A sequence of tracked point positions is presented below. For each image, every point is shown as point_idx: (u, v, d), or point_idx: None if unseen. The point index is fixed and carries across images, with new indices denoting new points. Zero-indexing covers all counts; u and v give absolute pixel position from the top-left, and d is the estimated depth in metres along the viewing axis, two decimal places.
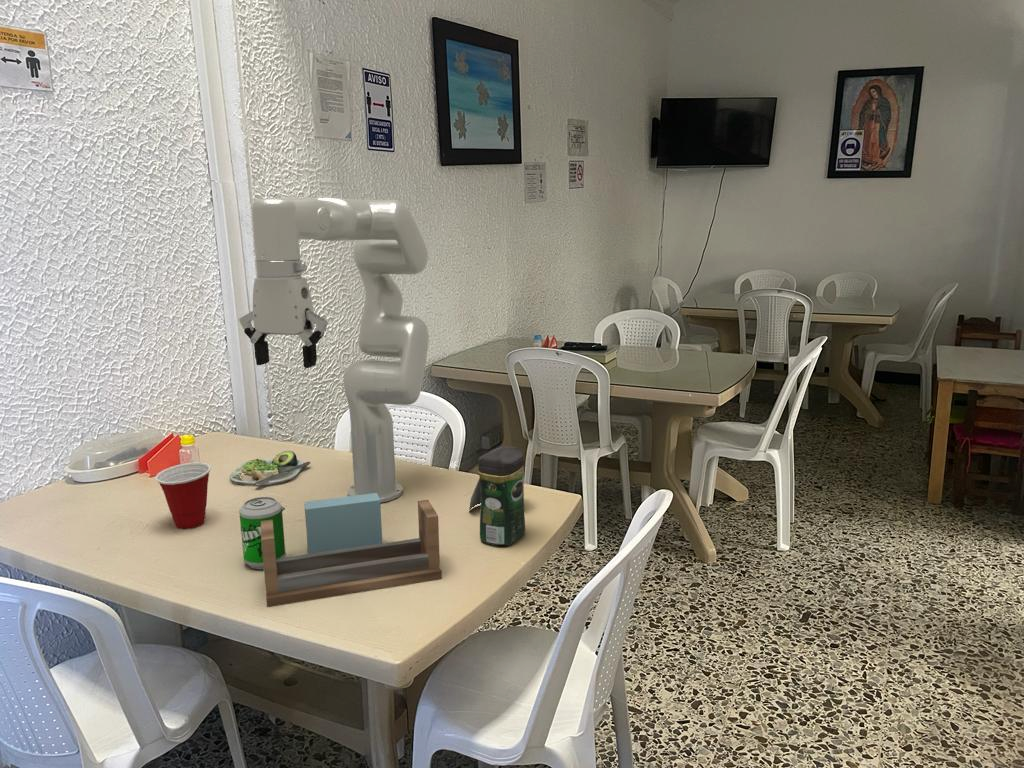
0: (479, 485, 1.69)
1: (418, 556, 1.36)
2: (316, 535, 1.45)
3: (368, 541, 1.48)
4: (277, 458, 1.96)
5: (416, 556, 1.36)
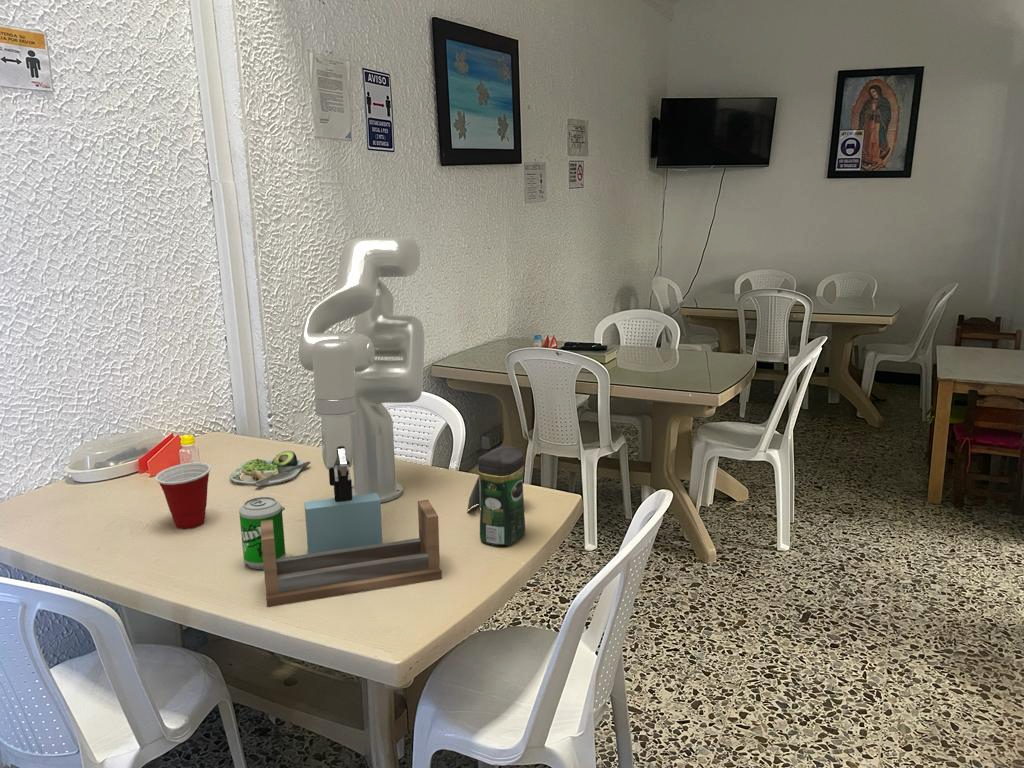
0: (477, 485, 1.68)
1: (418, 556, 1.36)
2: (316, 534, 1.45)
3: (368, 541, 1.48)
4: (277, 458, 1.96)
5: (416, 556, 1.36)
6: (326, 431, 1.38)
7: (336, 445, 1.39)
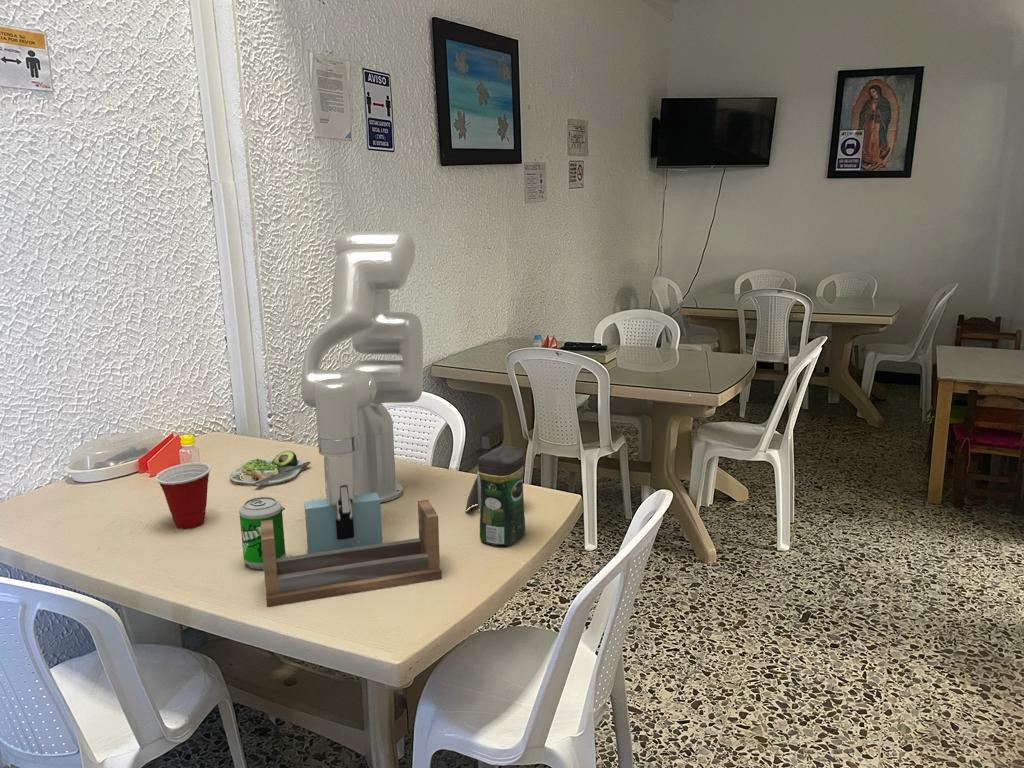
0: (476, 485, 1.68)
1: (418, 556, 1.36)
2: (316, 534, 1.45)
3: (368, 541, 1.48)
4: (277, 458, 1.96)
5: (416, 556, 1.36)
6: (329, 470, 1.40)
7: (339, 488, 1.41)
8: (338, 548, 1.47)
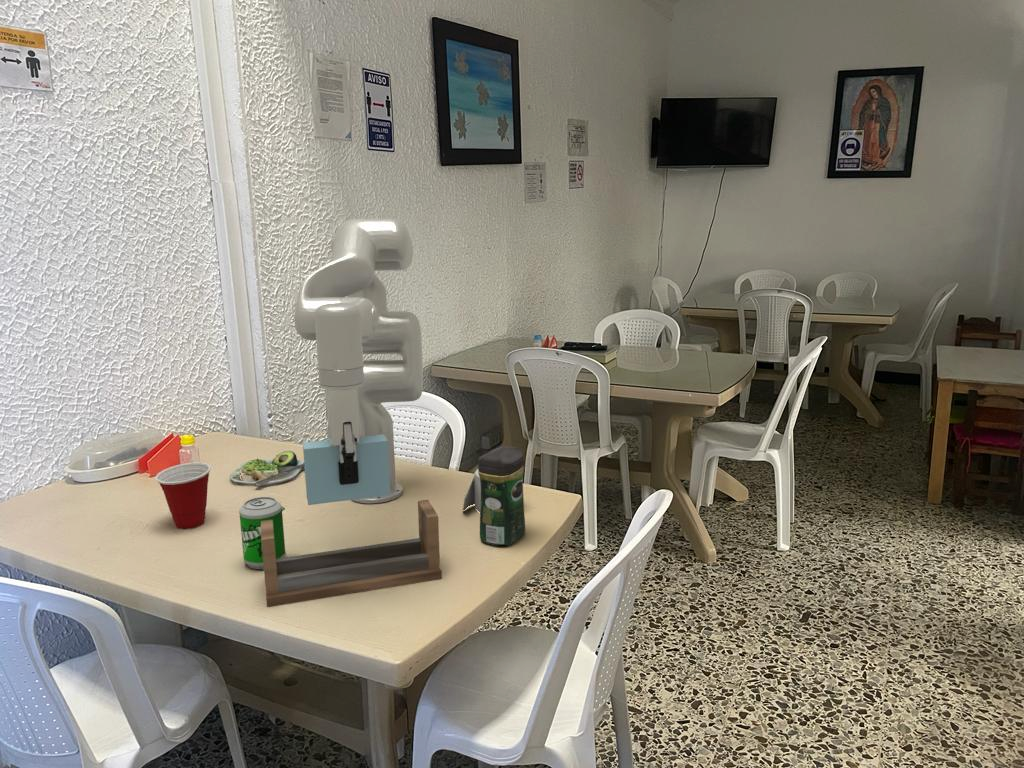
0: (473, 486, 1.68)
1: (418, 556, 1.36)
2: (316, 478, 1.29)
3: (374, 487, 1.33)
4: (277, 458, 1.96)
5: (416, 556, 1.36)
6: (331, 405, 1.25)
7: (342, 425, 1.25)
8: (341, 494, 1.31)
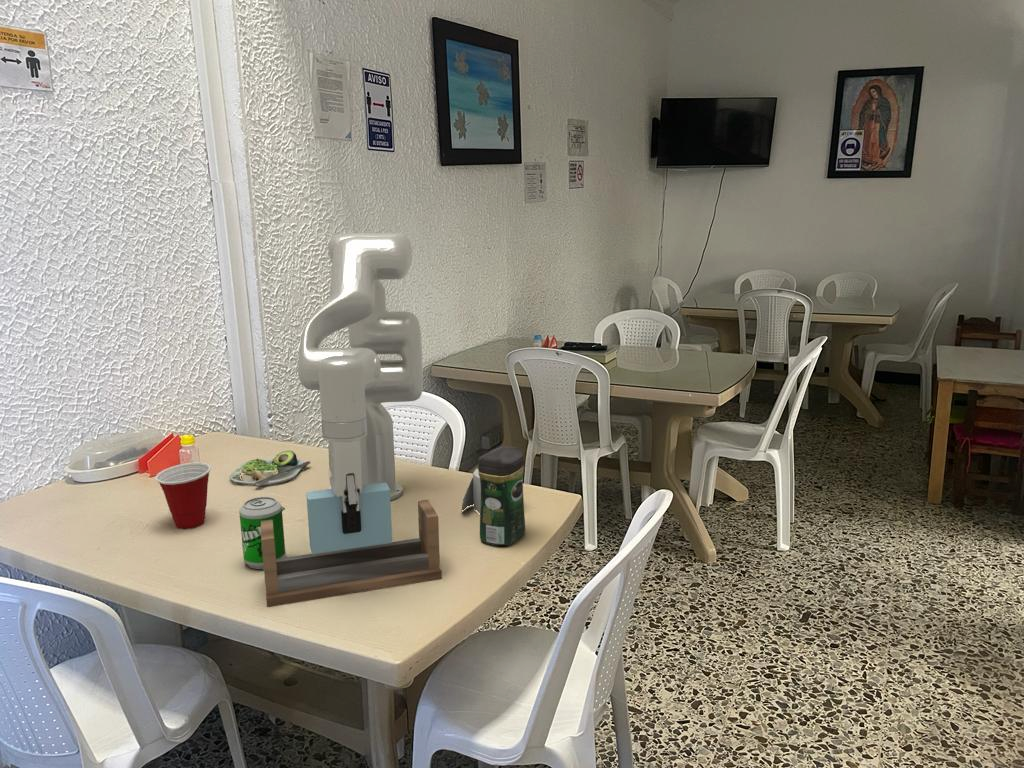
0: (472, 486, 1.68)
1: (418, 556, 1.36)
2: (319, 528, 1.31)
3: (377, 535, 1.35)
4: (277, 458, 1.96)
5: (416, 556, 1.36)
6: (334, 457, 1.27)
7: (345, 477, 1.27)
8: (343, 543, 1.33)
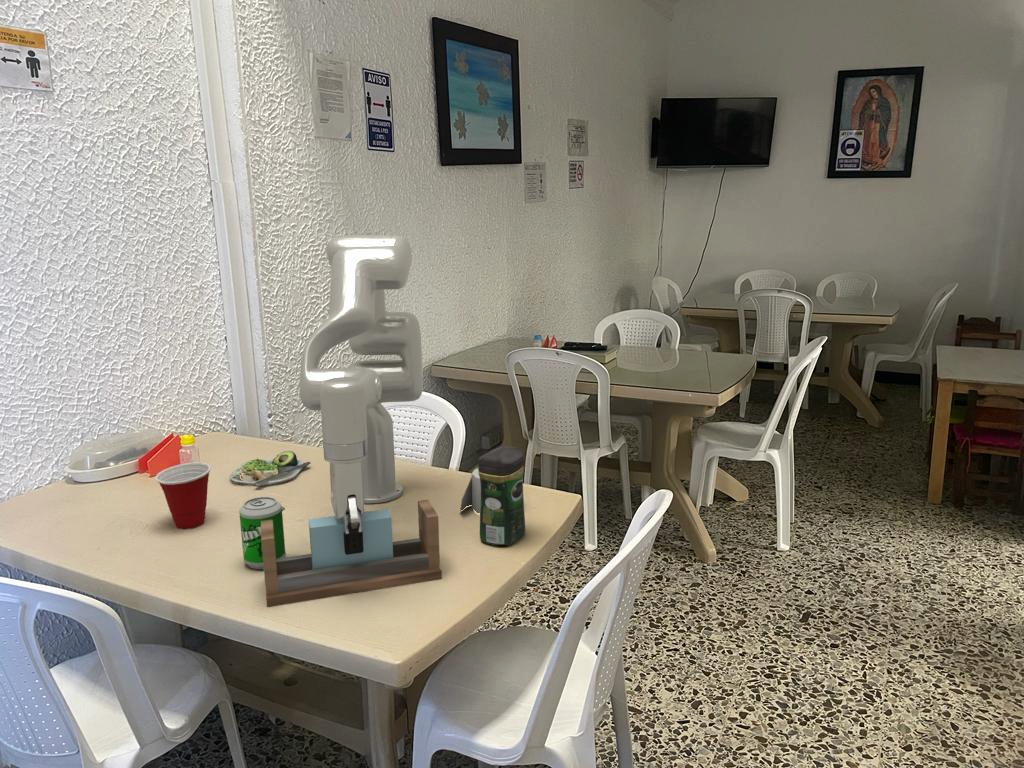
0: (470, 486, 1.68)
1: (418, 556, 1.36)
2: (321, 555, 1.32)
3: None
4: (277, 458, 1.96)
5: (416, 556, 1.36)
6: (335, 479, 1.28)
7: (347, 496, 1.28)
8: None
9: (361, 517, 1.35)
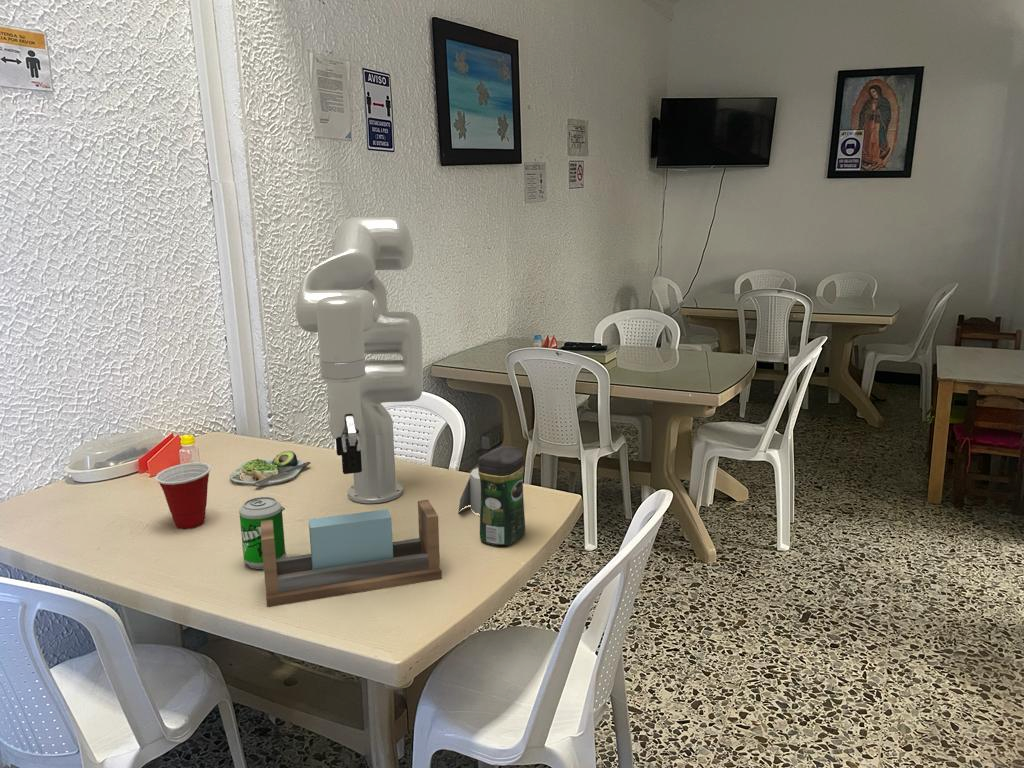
0: (469, 486, 1.68)
1: (418, 556, 1.36)
2: (321, 555, 1.32)
3: None
4: (277, 458, 1.96)
5: (416, 556, 1.36)
6: (333, 397, 1.26)
7: (344, 412, 1.27)
8: None
9: (361, 517, 1.35)
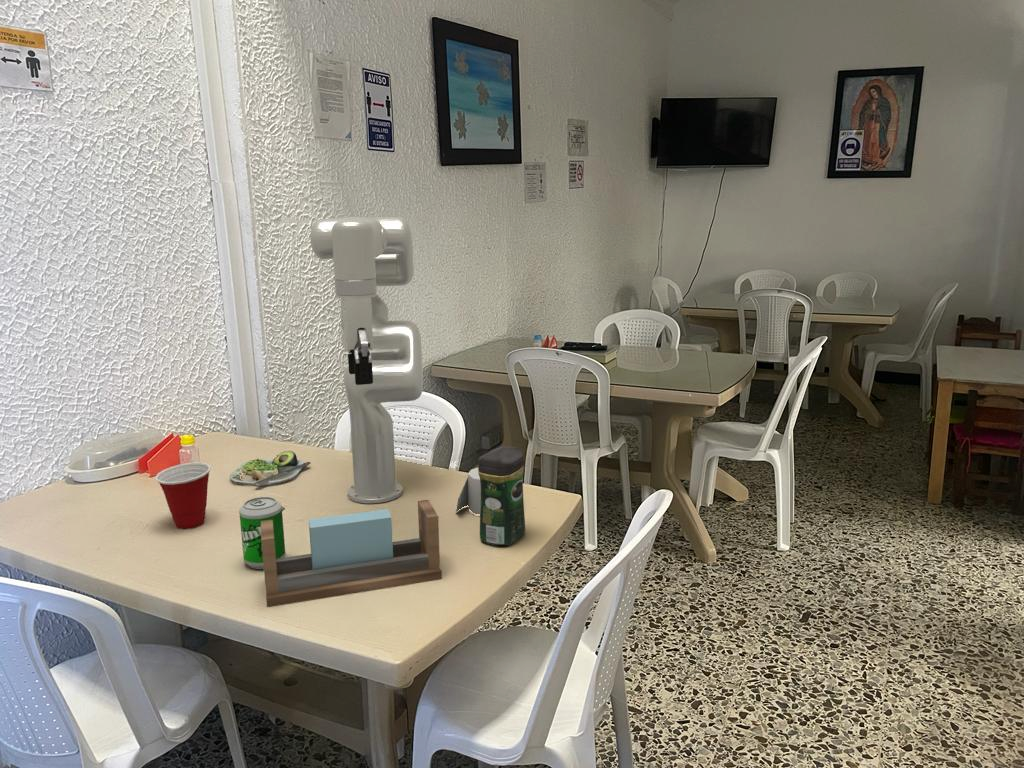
0: (466, 486, 1.68)
1: (418, 556, 1.36)
2: (321, 555, 1.32)
3: None
4: (277, 458, 1.96)
5: (416, 556, 1.36)
6: (346, 312, 1.37)
7: (357, 326, 1.38)
8: None
9: (361, 517, 1.35)
